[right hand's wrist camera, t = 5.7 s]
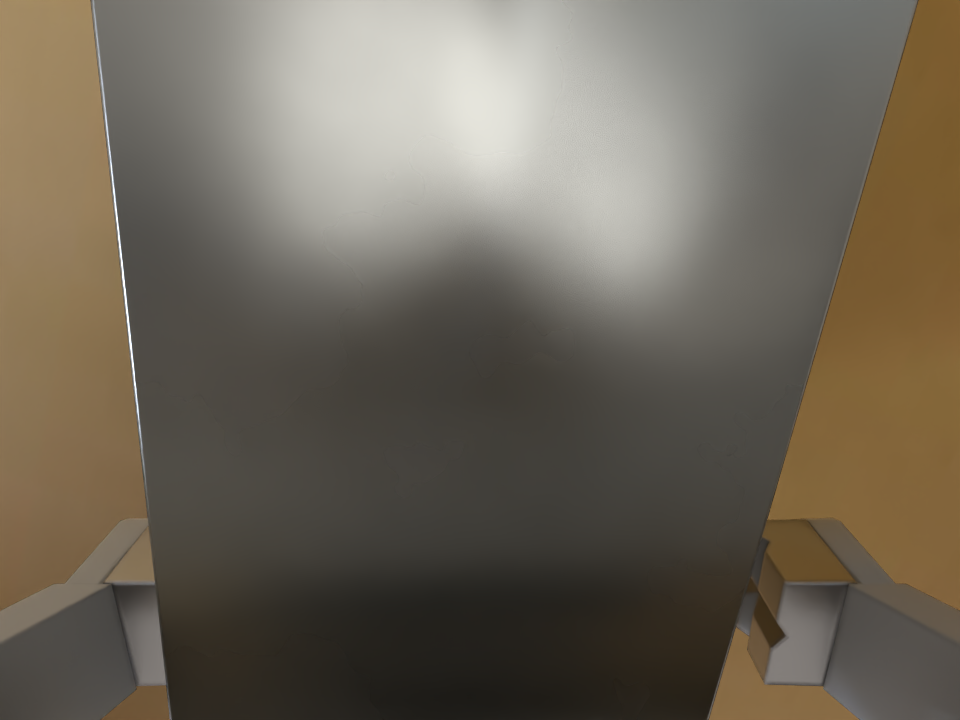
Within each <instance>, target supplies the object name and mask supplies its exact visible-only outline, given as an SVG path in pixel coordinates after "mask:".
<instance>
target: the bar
mask: <svg viewBox="0 0 960 720" xmlns="http://www.w3.org/2000/svg"><path fill="white" fill-rule="evenodd" d="M917 4H918V0H91V9H92V18H93V27H94V36H95V45H96V55H97V64H98V73H99V82H100V91H101V100H102V109H103V118H104V127H105V136H106V145H107V154H108V163H109V172H110V181H111V190H112V199H113V208H114V217H115V226H116V235H117V244H118V253H119V262H120V272H121V281H122V290H123V299H124V308H125V317H126V326H127V335H128V344H129V353H130V362H131V371H132V380H133V389H134V398H135V407H136V416H137V425H138V434H139V443H140V452H141V461H142V470H143V479H144V489H145V498H146V507H147V516H148V525H149V534H150V543H151V552H152V561H153V570H154V579H155V588H156V597H157V606H158V615H159V624H160V633H161V642H162V651H163V660H164V669H165V678H166V687H167V696H168V706H169V715H170V720H709V717H710V714H711V710H712V707H713V703H714V700H715V697H716V693H717V690H718V686H719V683H720V679H721V676H722V673H723V669H724V666H725V662H726V659H727V655H728V652H729V649H730V645H731V642H732V638H733V635H734V631H735V628H736V625H737V621H738V618H739V614H740V611H741V607H742V604H743V601H744V597H745V594H746V590H747V587H748V583H749V580H750V577H751V573H752V570H753V566H754V563H755V559H756V556H757V553H758V549H759V546H760V542H761V539H762V535H763V532H764V529H765V525H766V522H767V518H768V515H769V511H770V508H771V505H772V501H773V498H774V494H775V491H776V487H777V484H778V481H779V477H780V474H781V470H782V467H783V463H784V460H785V457H786V453H787V450H788V446H789V443H790V439H791V436H792V433H793V429H794V426H795V422H796V419H797V415H798V412H799V409H800V405H801V402H802V398H803V395H804V391H805V388H806V385H807V381H808V378H809V374H810V371H811V367H812V364H813V361H814V357H815V354H816V350H817V347H818V343H819V340H820V337H821V333H822V330H823V326H824V323H825V319H826V316H827V313H828V309H829V306H830V302H831V299H832V295H833V292H834V289H835V285H836V282H837V278H838V275H839V271H840V268H841V265H842V261H843V258H844V254H845V251H846V247H847V244H848V241H849V237H850V234H851V230H852V227H853V223H854V220H855V217H856V213H857V210H858V206H859V203H860V199H861V196H862V193H863V189H864V186H865V182H866V179H867V175H868V172H869V168H870V165H871V162H872V158H873V155H874V151H875V148H876V144H877V141H878V138H879V134H880V131H881V127H882V124H883V120H884V117H885V114H886V110H887V107H888V103H889V100H890V96H891V93H892V90H893V86H894V83H895V79H896V76H897V72H898V69H899V66H900V62H901V59H902V55H903V52H904V48H905V45H906V42H907V38H908V35H909V31H910V28H911V24H912V21H913V18H914V14H915V11H916V7H917Z"/></svg>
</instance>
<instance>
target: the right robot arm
mask: <svg viewBox="0 0 960 720" xmlns="http://www.w3.org/2000/svg"><path fill="white" fill-rule="evenodd" d="M736 627H737V628H738V629H740V630H741V631H742V632H744V633H745V634H747V635H748V636H749V640H748V646H747V650H748V652H749V654H750V656H751V658H752V660H753V662H754V664H755V666H756V668H757V670H758V672H759V674H760V676H761V678H762V680H763V682H764V684H768V685H803V686H824V688H823V689H824V690H825V691H826V692H828V693H829V694H830V695H831V696H832V697H834V698H835V699H836V700H837V701H838V702H840V703H841V704H842V705H843V706H844V707H845V708H847V709H848V710H849V711H850V712H851V713H853V714H854V715H855V716H856V717H857V718H859V719H860V720H960V611H959V610H957V609H955V608H953V607H951V606H949V605H947V604H945V603H943V602H941V601H939V600H937V599H935V598H933V597H931V596H929V595H927V594H925V593H923V592H921V591H919V590H917V589H915V588H913V587H911V586H909V585H907V584H895V583H894V581H893V580H892V579H891V578H890V577H889V576H888V575H887V573H886V572H885V571H884V570H883V569H882V568H881V567H880V566H879V564H878V563H877V562H876V561H875V560H874V559H873V558H872V556H871V555H870V554H869V553H868V552H867V551H866V550H865V549H864V547H863V546H862V545H861V544H860V543H859V542H858V541H857V540H856V538H855V537H854V536H853V535H852V534H851V533H850V532H849V530H848V529H847V528H846V527H845V526H844V525H843V524H842V523H841V522H840V521H839V520H836V519H834V518H809V519H793V520H767V522H766V525H765V529H764V532H763V535H762V539H761V542H760V546H759V549H758V553H757V556H756V559H755V563H754V566H753V570H752V573H751V577H750V580H749V583H748V587H747V590H746V594H745V597H744V601H743V604H742V607H741V611H740V614H739V618H738V621H737V625H736ZM156 685H166V678H165V669H164V660H163V651H162V642H161V633H160V624H159V615H158V606H157V597H156V588H155V579H154V570H153V561H152V552H151V543H150V534H149V525H148V518H128V519H124V520H121V521H120V522H119V523H118V524H117V525H116V526H115V527H114V528H113V529H112V530H111V532H110V533H109V534H108V535H107V536H106V537H105V538H104V540H103V541H102V542H101V543H100V544H99V545H98V546H97V547H96V549H95V550H94V551H93V552H92V553H91V554H90V555H89V556H88V558H87V559H86V560H85V561H84V562H83V563H82V564H81V566H80V567H79V568H78V569H77V570H76V571H75V572H74V573H73V575H72V576H71V577H70V578H69V579H68V580H67V581H66V583H65V584H53V585H51V586H49V587H47V588H45V589H43V590H41V591H39V592H37V593H35V594H33V595H31V596H29V597H27V598H25V599H23V600H21V601H19V602H17V603H15V604H13V605H11V606H9V607H7V608H5V609H3V610H1V611H0V720H101V719H102V718H103V717H104V716H105V715H106V714H108V713H109V712H110V711H111V710H112V709H114V708H115V707H116V706H117V705H118V704H120V703H121V702H122V701H123V700H124V699H126V698H127V697H128V696H129V695H130V694H131V693H133V692H134V691H135V690H136V686H156Z"/></svg>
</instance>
